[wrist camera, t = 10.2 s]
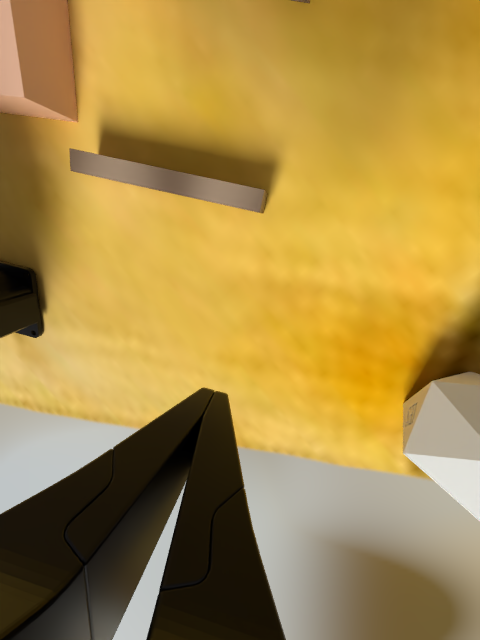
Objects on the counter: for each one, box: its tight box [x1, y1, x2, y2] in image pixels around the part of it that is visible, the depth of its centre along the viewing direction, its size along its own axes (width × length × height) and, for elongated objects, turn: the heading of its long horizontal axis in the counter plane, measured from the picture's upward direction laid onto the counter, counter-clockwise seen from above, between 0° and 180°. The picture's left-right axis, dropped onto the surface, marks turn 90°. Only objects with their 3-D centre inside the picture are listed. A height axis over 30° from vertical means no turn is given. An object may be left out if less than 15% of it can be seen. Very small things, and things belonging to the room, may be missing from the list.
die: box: [403, 372, 480, 521], centre depth 16 cm, size 8×9×10 cm
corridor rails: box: [70, 0, 310, 213], centre depth 14 cm, size 12×11×2 cm
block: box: [0, 0, 78, 122], centre depth 15 cm, size 6×6×4 cm
